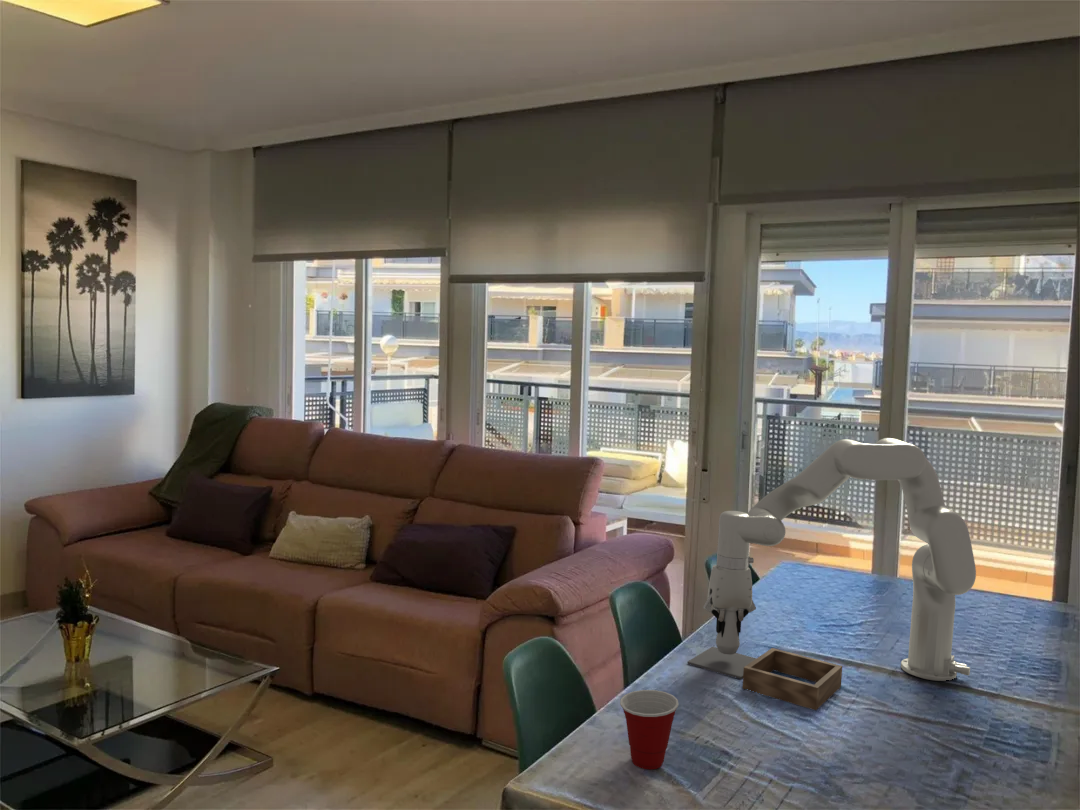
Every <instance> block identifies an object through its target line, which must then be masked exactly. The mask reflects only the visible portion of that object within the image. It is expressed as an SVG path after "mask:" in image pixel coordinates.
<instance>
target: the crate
mask: <svg viewBox="0 0 1080 810" xmlns="http://www.w3.org/2000/svg"><path fill="white" fill-rule="evenodd" d="M756 658H757V659H755V660H754V661H752V662H751V663H749V664H748V665H746V666H745V667H744V671H743V678H742V688H743V689H742V688H741V689H742V690H745V689H748V690H747V691H749V690H751V691H750V692H752V691H754V692H753V693H755V692H757V693H756V694H759V693H760V695H762V694H763V695H762V696H766V697H769V696H770V697H769V698H772V699H776V700H780V701H782V702H787V703H790V704H792V705H793V704H794V705H797V706H800V707H803V708H806V709H811V710H813V711H818V709H819V708H820V707H822V706H823V705H824V704H825V703H826V702H827V701H828V700H829V699H830V698H831V697H832V696H833V695H834V694H835V693H836V692H838V690H839V689H840V688H841V687H842V679H843V678H842V677H843V676H842V675H843V665H839V664H836V663H833V662H829V661H825V660H821V659H820V660H819V659H817V658H812V657H809V656H804V655H801V654H797V653H794V652H789V651H785V650H781V649H779V648H775V647H771V648H770V649H768V650H767V651H765V652H764V653H762V654H761V655H760V656H758V657H756ZM773 671H774V672H778V673H782V674H786V675H789V676H793V677H796V678H799V679H802V680H808V681H811V682H813V683H814V684H812V683H809V682H806V681H805V682H804V681H802V680H798V679H794V678H790V677H788V676H787V677H786V676H785V675H784V676H783V675H780V674H776V673H773Z"/></svg>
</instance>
